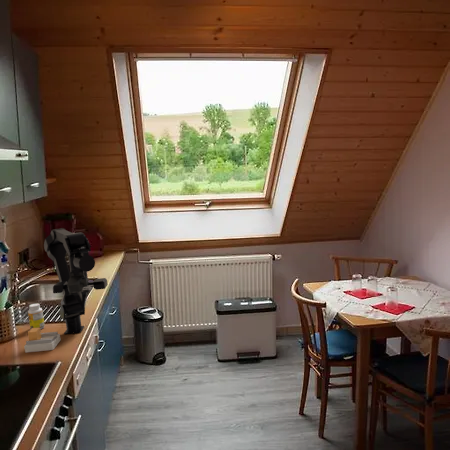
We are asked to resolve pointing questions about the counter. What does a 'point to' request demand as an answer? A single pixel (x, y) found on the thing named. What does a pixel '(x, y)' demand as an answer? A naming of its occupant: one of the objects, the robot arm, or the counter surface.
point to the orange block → (34, 334)
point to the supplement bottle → (36, 316)
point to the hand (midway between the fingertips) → (83, 307)
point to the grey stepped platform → (43, 342)
